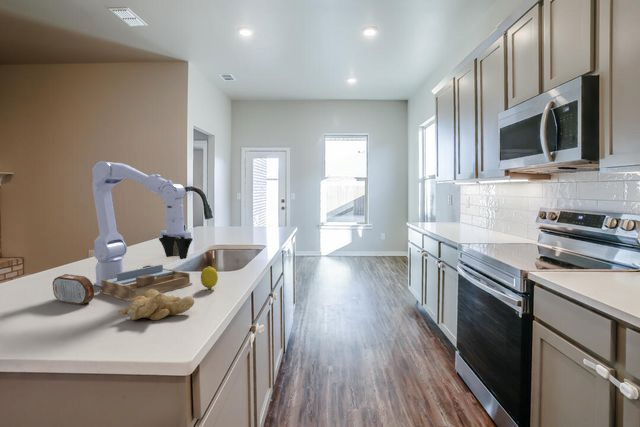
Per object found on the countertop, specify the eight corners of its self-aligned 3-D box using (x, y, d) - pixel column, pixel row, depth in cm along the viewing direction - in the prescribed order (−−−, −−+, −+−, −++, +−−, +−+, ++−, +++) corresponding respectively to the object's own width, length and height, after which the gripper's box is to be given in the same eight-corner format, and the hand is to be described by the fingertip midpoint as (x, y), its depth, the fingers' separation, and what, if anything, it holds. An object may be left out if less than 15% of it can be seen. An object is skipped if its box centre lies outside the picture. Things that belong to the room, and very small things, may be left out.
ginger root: (109, 313, 96) (116, 283, 97) (166, 311, 108) (171, 285, 109) (134, 329, 86) (141, 296, 87) (193, 326, 98) (199, 296, 99)
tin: (96, 303, 109) (94, 276, 108) (86, 306, 106) (84, 278, 105) (61, 298, 114) (60, 272, 113) (51, 301, 111) (49, 275, 110)
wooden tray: (99, 292, 120) (99, 280, 120) (161, 278, 139) (161, 267, 139) (130, 301, 110) (129, 288, 110) (192, 284, 129) (191, 273, 129)
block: (143, 293, 116) (143, 278, 116) (136, 291, 118) (135, 276, 118) (155, 290, 120) (154, 275, 119) (148, 288, 122) (147, 274, 121)
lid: (105, 282, 120) (105, 273, 120) (159, 270, 137) (159, 262, 137) (119, 285, 116) (118, 276, 116) (173, 273, 132) (172, 264, 132)
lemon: (213, 291, 119) (212, 268, 119) (197, 291, 121) (197, 267, 120) (220, 287, 125) (220, 264, 124) (206, 286, 126) (205, 264, 125)
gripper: (151, 218, 125) (153, 257, 126) (177, 220, 117) (179, 261, 118) (169, 217, 131) (171, 254, 132) (195, 218, 123) (197, 258, 124)
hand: (176, 257), depth 125 cm, fingers open, 7 cm apart
